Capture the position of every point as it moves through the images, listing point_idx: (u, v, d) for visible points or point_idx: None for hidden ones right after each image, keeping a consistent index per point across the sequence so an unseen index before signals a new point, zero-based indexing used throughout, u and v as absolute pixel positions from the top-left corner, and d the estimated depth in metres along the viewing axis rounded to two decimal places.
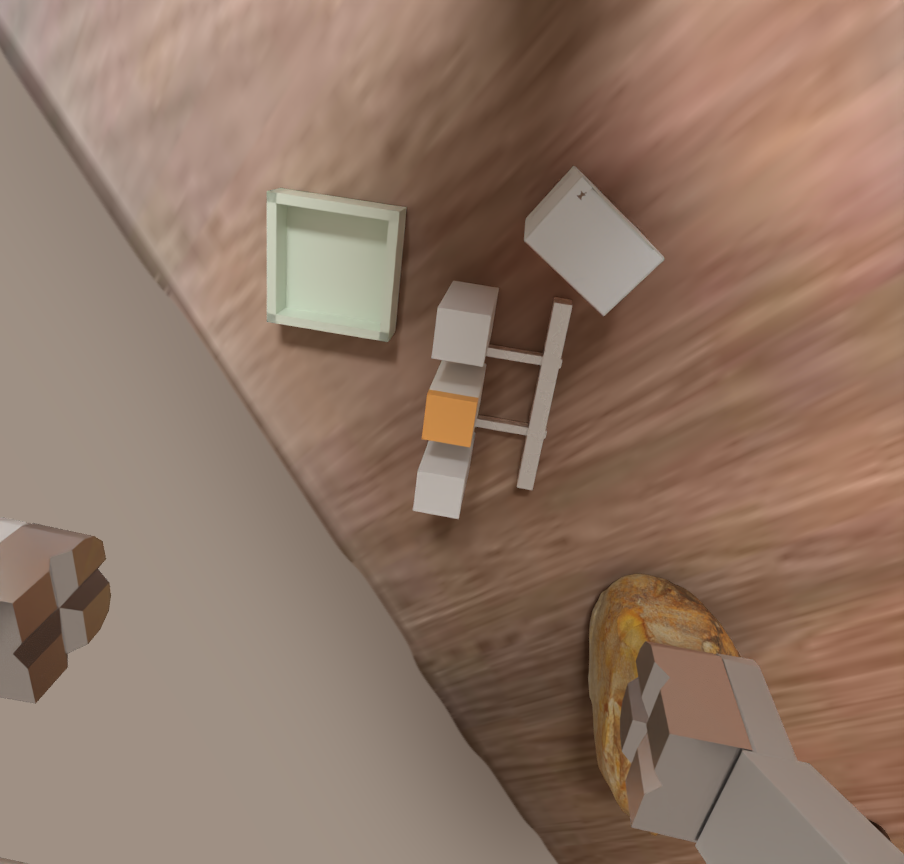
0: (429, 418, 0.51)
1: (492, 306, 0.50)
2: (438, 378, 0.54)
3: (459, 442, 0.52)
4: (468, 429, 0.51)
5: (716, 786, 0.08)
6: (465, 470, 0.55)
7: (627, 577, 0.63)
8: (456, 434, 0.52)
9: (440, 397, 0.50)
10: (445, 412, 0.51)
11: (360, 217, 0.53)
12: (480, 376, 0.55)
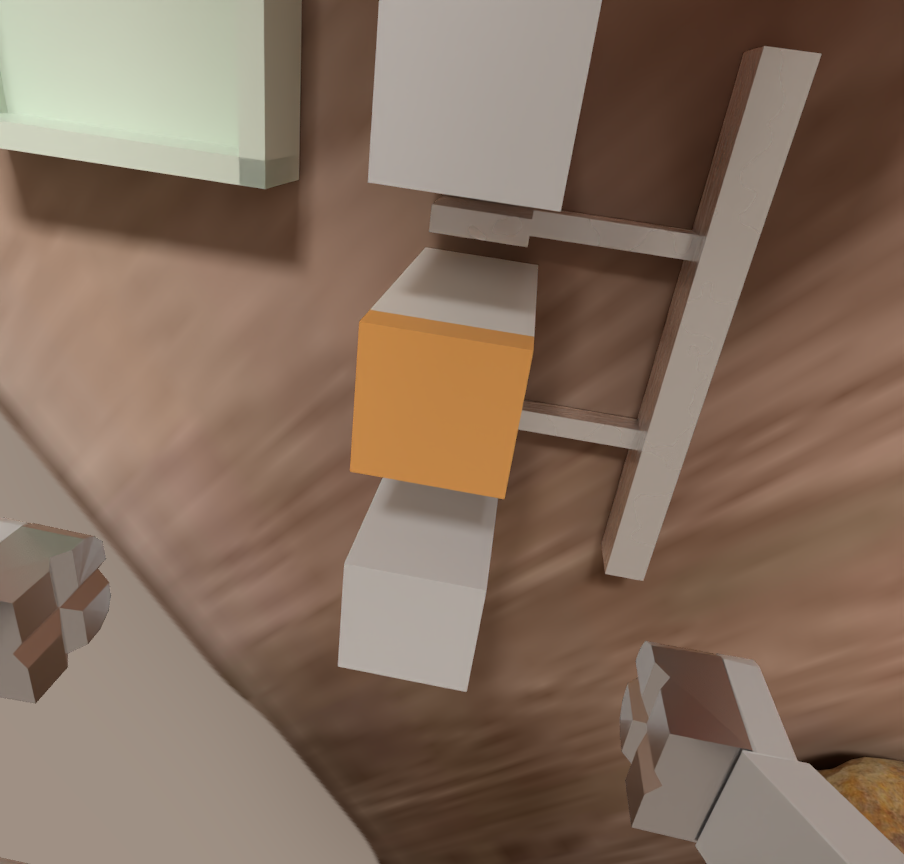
0: (371, 406, 0.16)
1: None
2: (406, 286, 0.18)
3: (470, 483, 0.16)
4: (499, 444, 0.16)
5: (716, 786, 0.08)
6: (486, 556, 0.19)
7: (854, 774, 0.27)
8: (460, 458, 0.16)
9: (406, 334, 0.15)
10: (424, 386, 0.15)
11: None
12: (528, 287, 0.19)
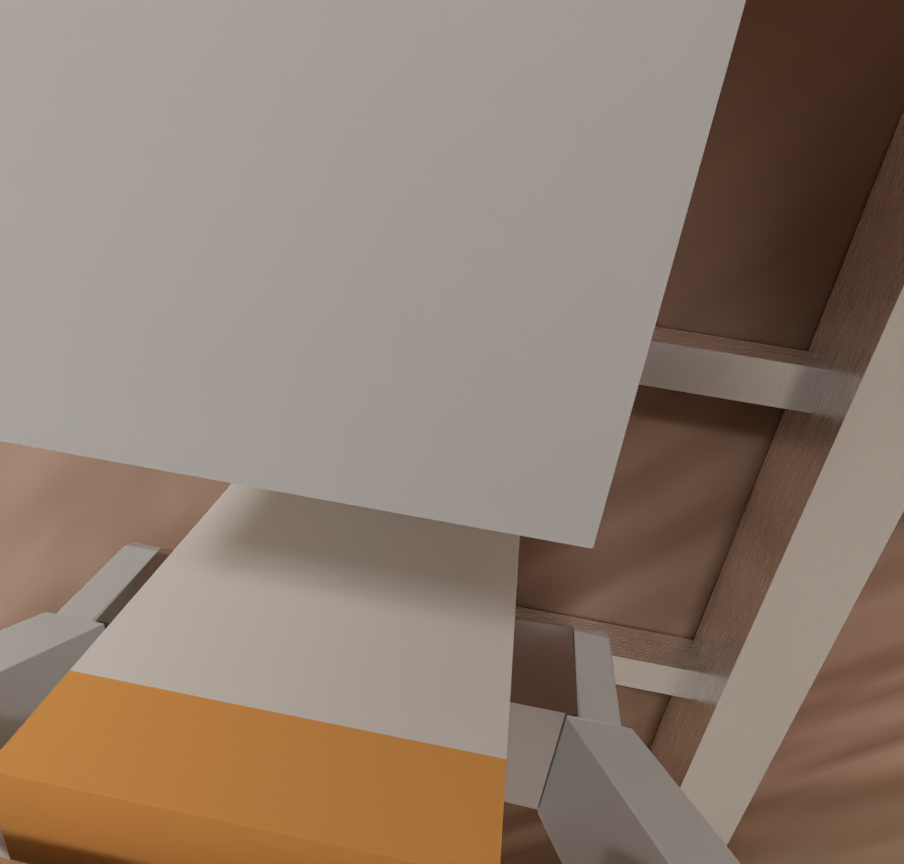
0: None
1: None
2: (233, 523, 0.08)
3: None
4: None
5: (548, 752, 0.08)
6: None
7: None
8: None
9: (121, 808, 0.05)
10: None
11: None
12: None
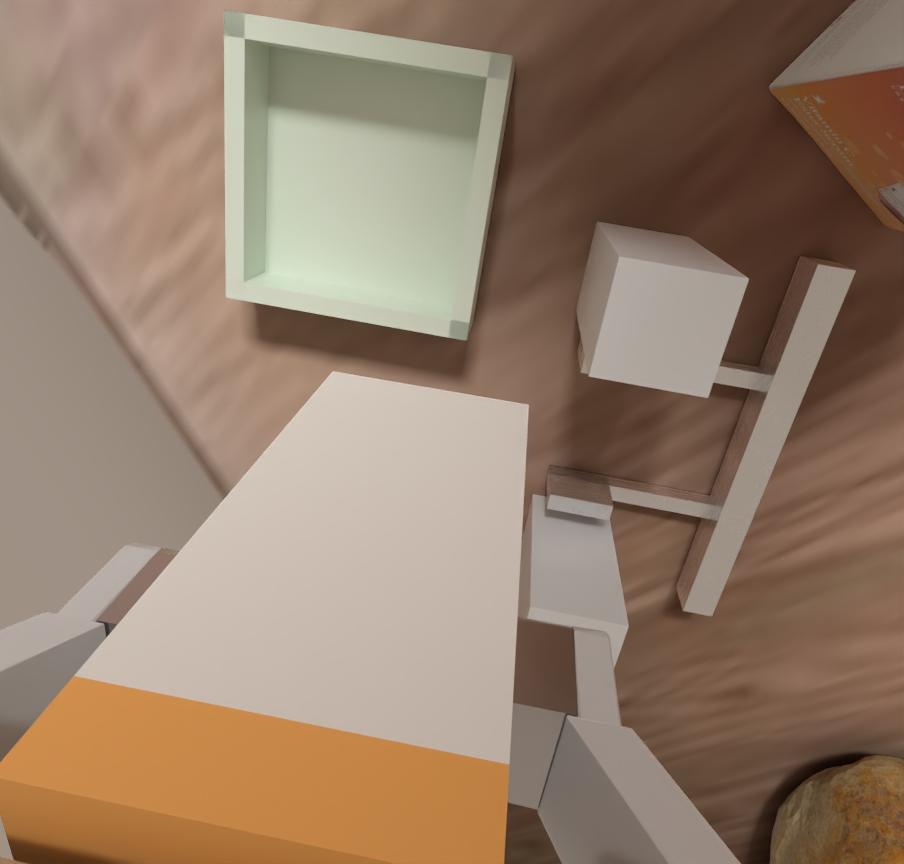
0: None
1: (723, 262, 0.22)
2: (236, 527, 0.08)
3: None
4: None
5: (548, 752, 0.08)
6: (621, 601, 0.27)
7: (868, 767, 0.35)
8: None
9: (125, 812, 0.05)
10: None
11: (419, 84, 0.26)
12: (507, 487, 0.10)
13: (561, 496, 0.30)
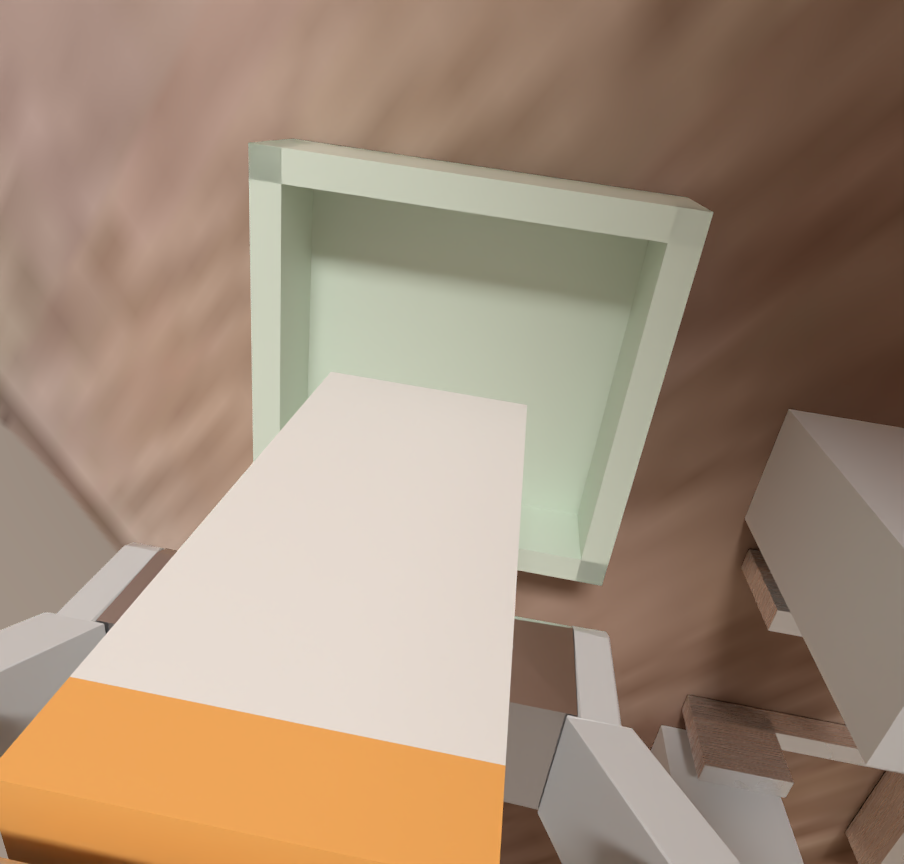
0: None
1: None
2: (232, 528, 0.08)
3: None
4: None
5: (548, 752, 0.08)
6: None
7: None
8: None
9: (121, 815, 0.05)
10: None
11: (540, 229, 0.17)
12: (504, 487, 0.10)
13: (720, 767, 0.22)
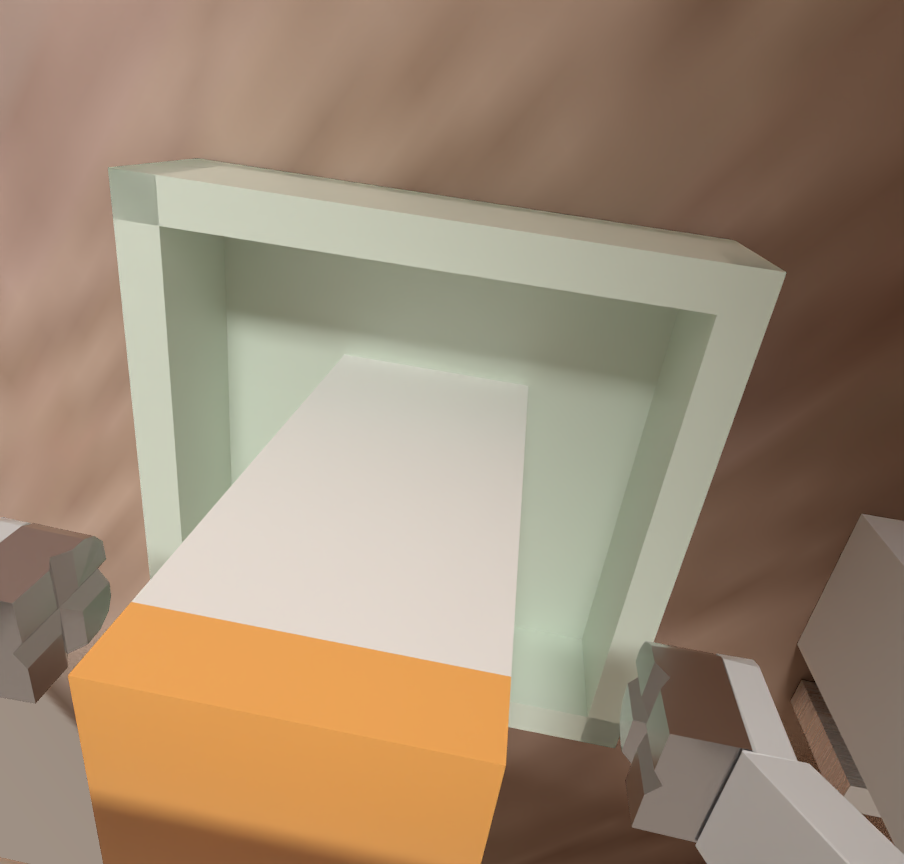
0: (133, 825, 0.07)
1: None
2: (263, 486, 0.09)
3: None
4: None
5: (716, 786, 0.08)
6: None
7: None
8: None
9: (186, 707, 0.06)
10: (247, 804, 0.06)
11: None
12: (508, 456, 0.11)
13: None
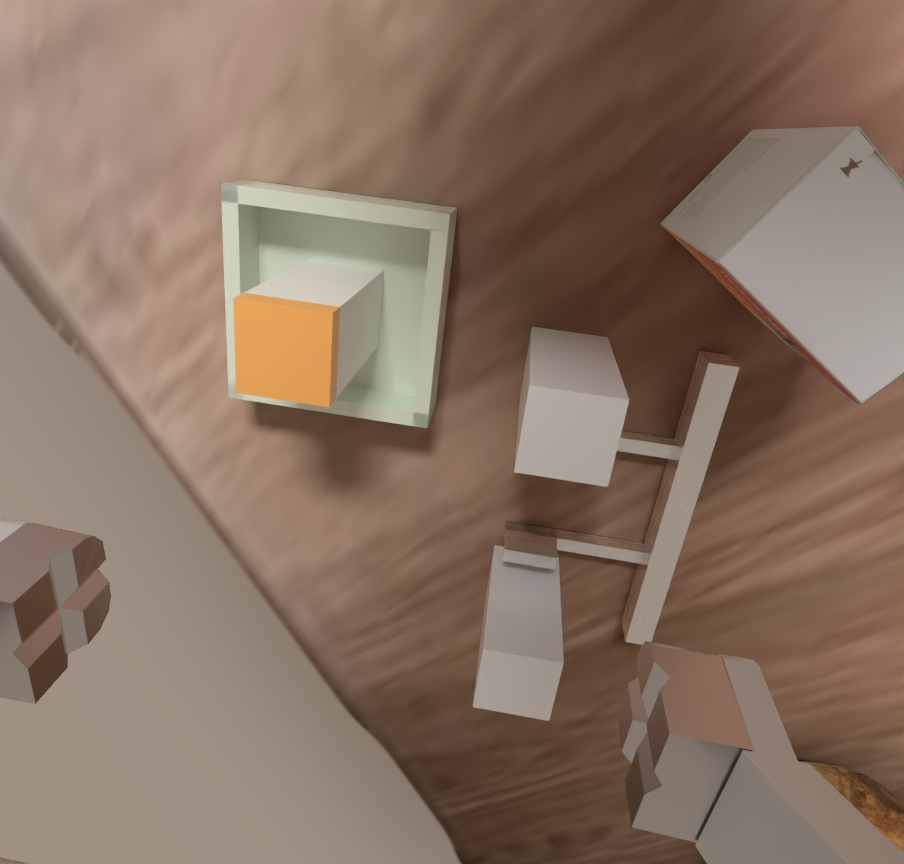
0: (244, 349, 0.26)
1: (619, 377, 0.28)
2: (276, 281, 0.28)
3: (307, 397, 0.27)
4: (321, 371, 0.26)
5: (716, 786, 0.08)
6: (560, 641, 0.33)
7: None
8: (300, 381, 0.26)
9: (260, 305, 0.25)
10: (274, 336, 0.26)
11: (380, 226, 0.32)
12: (362, 282, 0.30)
13: (513, 550, 0.36)
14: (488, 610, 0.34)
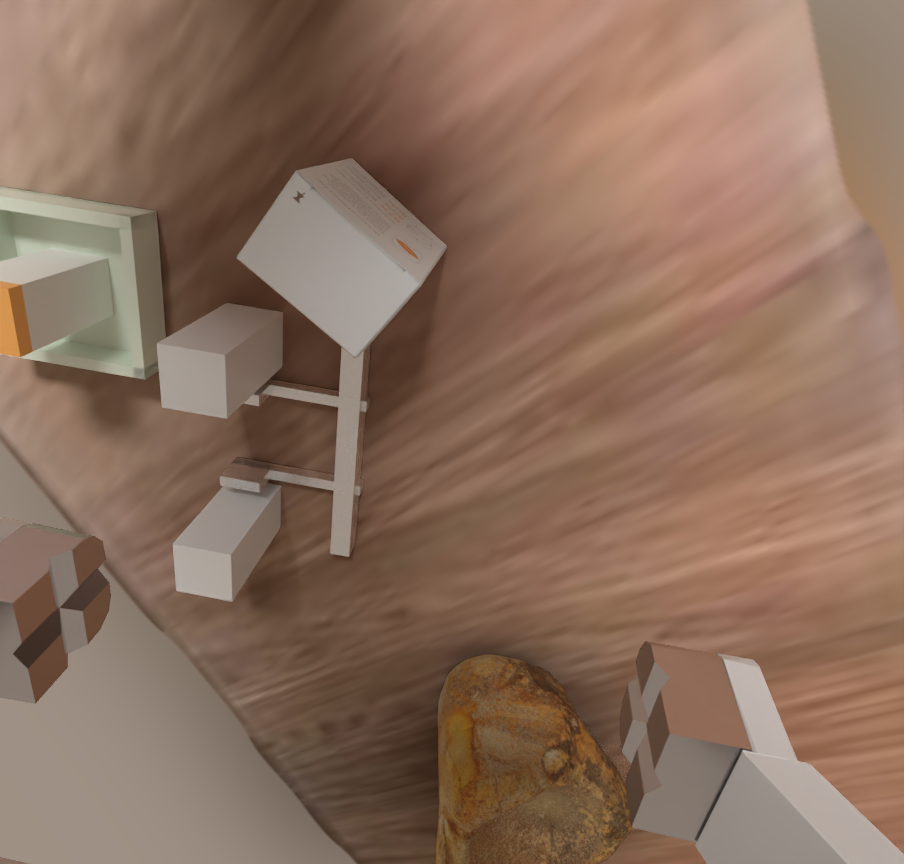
0: None
1: (243, 340, 0.38)
2: None
3: (4, 349, 0.37)
4: (9, 330, 0.36)
5: (716, 786, 0.08)
6: (238, 541, 0.44)
7: (471, 660, 0.52)
8: None
9: None
10: None
11: None
12: (71, 267, 0.40)
13: (227, 477, 0.47)
14: (194, 519, 0.45)
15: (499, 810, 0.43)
